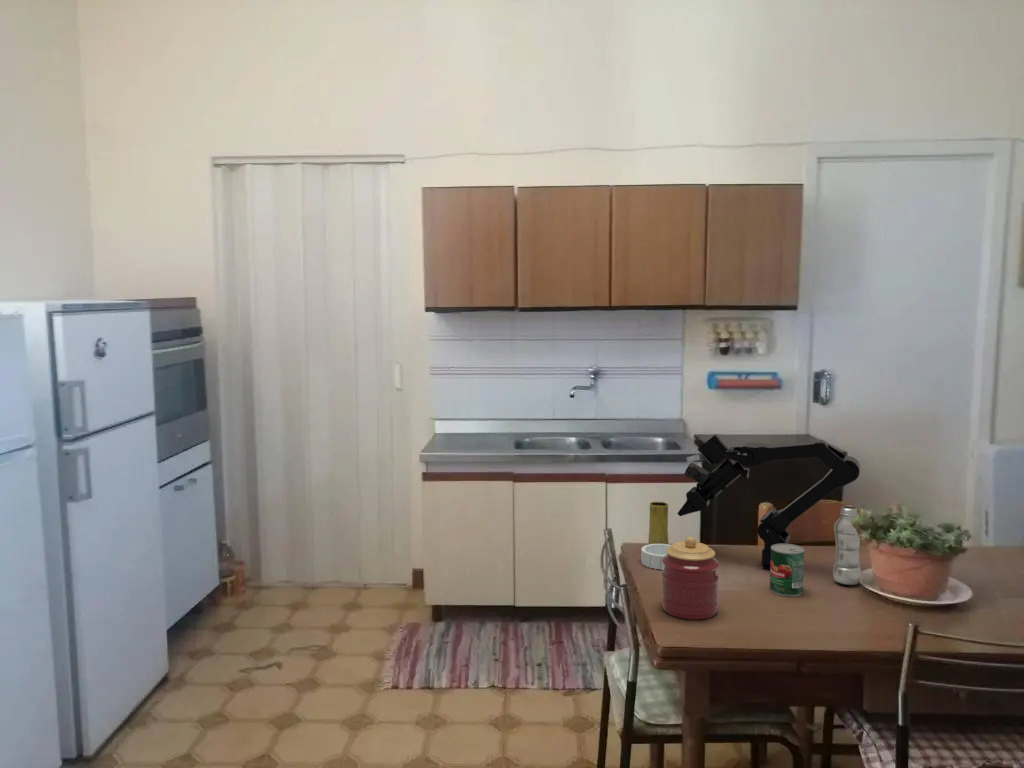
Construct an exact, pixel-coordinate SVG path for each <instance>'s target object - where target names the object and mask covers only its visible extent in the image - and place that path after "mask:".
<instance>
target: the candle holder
mask: <svg viewBox="0 0 1024 768" xmlns="http://www.w3.org/2000/svg"><path fill="white" fill-rule="evenodd" d="M672 545H673V544H669V545H668V544H649V545H648V544H645V545H643V546H642V547H641V548H640V562H641V565H642V566H644V565H645V566H647V567H646V568H648V567H650V568H649V569H651V568H655V569H654V570H656V569H660V570H659V571H663V570H664V564H663V562H662V559H663V557H664V556H666V555H667V553H666V549H667V548H668V547H670V546H672ZM645 566H644V567H645Z"/></svg>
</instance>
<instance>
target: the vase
mask: <svg viewBox="0 0 1024 768" xmlns="http://www.w3.org/2000/svg"><path fill="white" fill-rule="evenodd" d="M648 523H649V526H648V544H647V545H649V544H668V545H670V544H669V504H668V503H667V502H664V501H651V502H650V503H649V522H648Z"/></svg>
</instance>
